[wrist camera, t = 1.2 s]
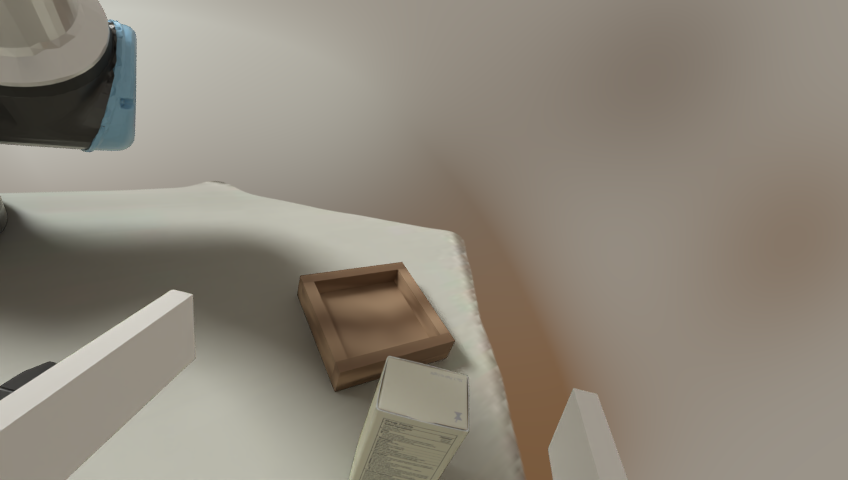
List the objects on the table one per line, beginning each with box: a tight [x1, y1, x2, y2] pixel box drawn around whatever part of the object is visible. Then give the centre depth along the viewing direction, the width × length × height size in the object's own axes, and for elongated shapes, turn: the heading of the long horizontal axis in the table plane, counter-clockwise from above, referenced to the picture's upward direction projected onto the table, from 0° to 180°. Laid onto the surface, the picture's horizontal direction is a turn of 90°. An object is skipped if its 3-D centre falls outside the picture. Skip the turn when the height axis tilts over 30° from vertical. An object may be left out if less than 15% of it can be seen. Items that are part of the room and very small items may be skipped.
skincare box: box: [349, 356, 469, 480], centre depth 30 cm, size 6×4×12 cm
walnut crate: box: [297, 262, 455, 392], centre depth 45 cm, size 13×13×3 cm
